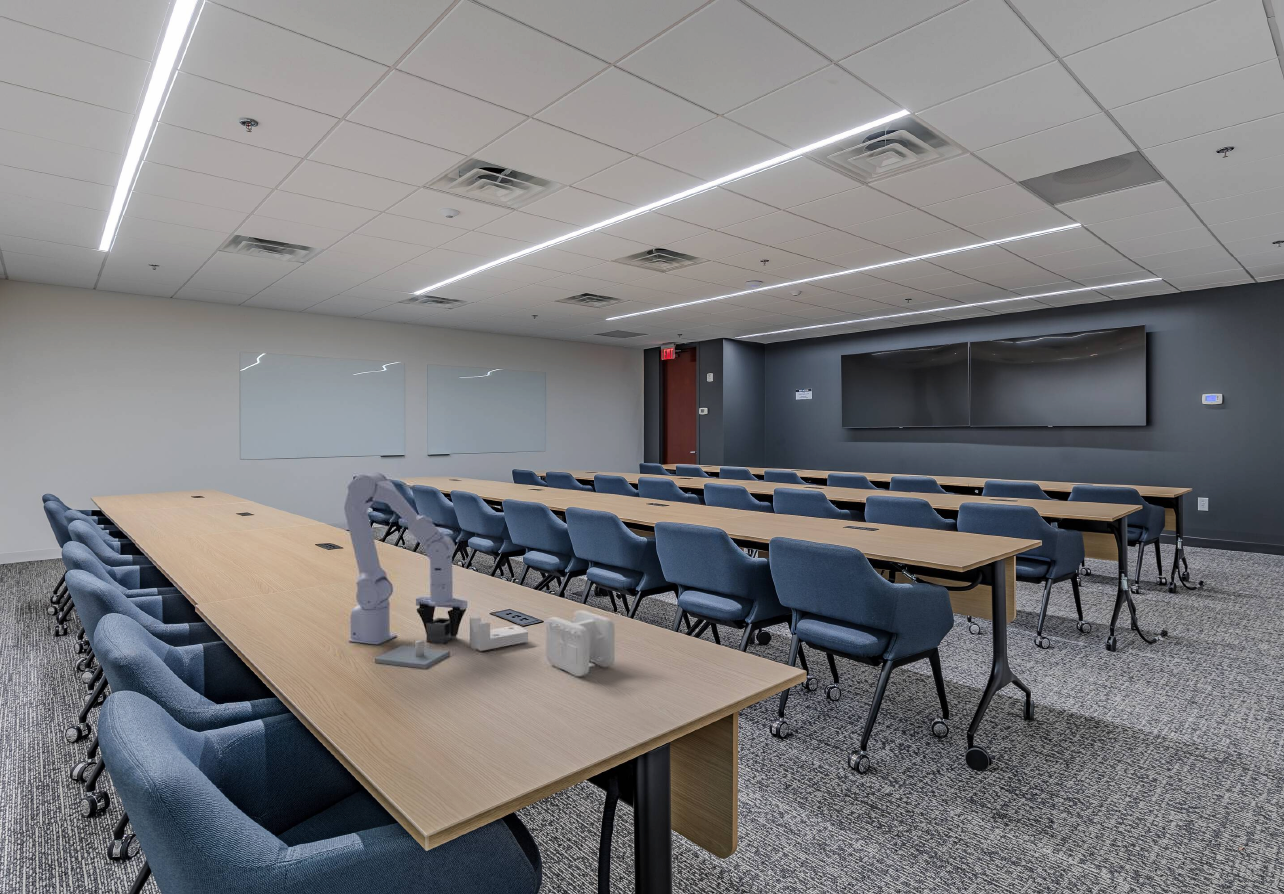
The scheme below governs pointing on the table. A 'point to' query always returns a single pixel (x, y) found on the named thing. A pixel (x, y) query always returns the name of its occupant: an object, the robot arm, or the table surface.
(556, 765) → the table surface
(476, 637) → the bracket
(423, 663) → the plate with peg
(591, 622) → the cable organizer
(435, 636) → the dark grey hollow block
